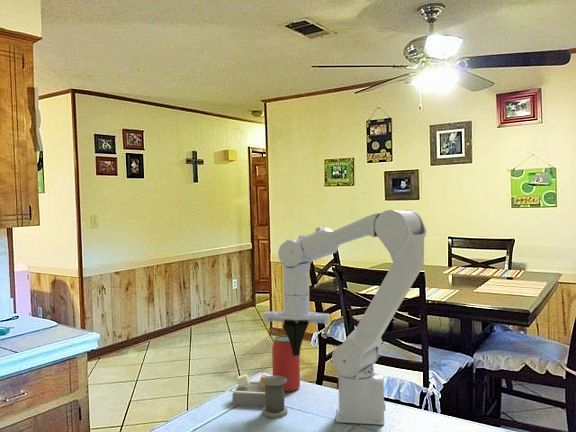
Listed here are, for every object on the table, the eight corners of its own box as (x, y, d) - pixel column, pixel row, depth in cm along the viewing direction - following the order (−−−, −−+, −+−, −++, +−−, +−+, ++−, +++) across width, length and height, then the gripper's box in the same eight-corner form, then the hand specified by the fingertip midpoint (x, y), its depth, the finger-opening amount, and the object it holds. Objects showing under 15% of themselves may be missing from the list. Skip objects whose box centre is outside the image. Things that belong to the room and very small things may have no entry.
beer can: (267, 390, 117) (267, 339, 117) (280, 381, 123) (280, 333, 123) (292, 394, 114) (291, 342, 114) (304, 385, 120) (304, 336, 120)
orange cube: (269, 385, 112) (271, 377, 112) (267, 388, 110) (270, 380, 110) (260, 382, 112) (262, 374, 112) (258, 385, 111) (261, 376, 110)
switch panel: (275, 393, 115) (275, 381, 115) (268, 406, 107) (268, 393, 107) (241, 391, 116) (241, 380, 116) (232, 404, 108) (232, 392, 108)
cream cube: (250, 382, 112) (247, 373, 113) (248, 384, 111) (245, 376, 111) (241, 384, 113) (238, 376, 113) (239, 387, 111) (236, 378, 111)
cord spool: (289, 408, 106) (288, 376, 106) (285, 418, 101) (284, 384, 101) (265, 407, 107) (264, 375, 107) (260, 417, 102) (259, 383, 101)
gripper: (330, 291, 113) (330, 350, 113) (268, 289, 115) (268, 347, 115) (327, 297, 106) (327, 360, 106) (261, 295, 108) (261, 356, 108)
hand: (296, 354), depth 110 cm, fingers closed
